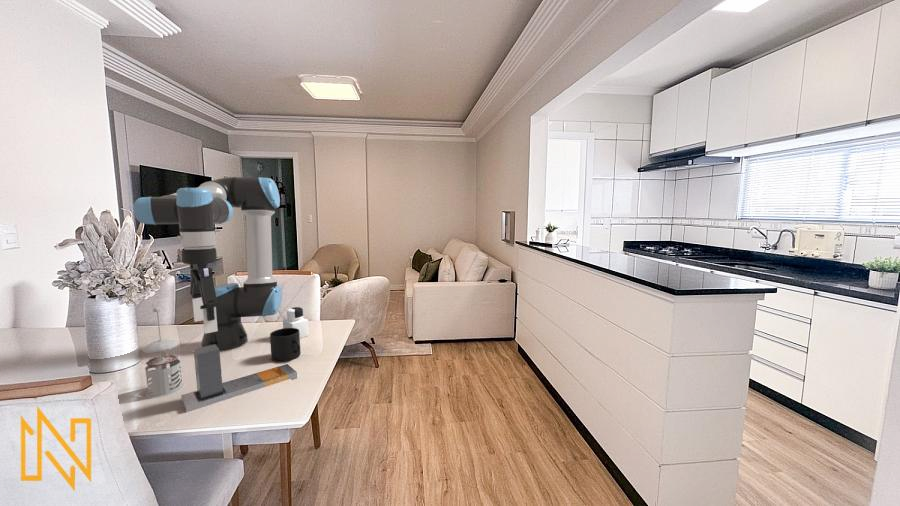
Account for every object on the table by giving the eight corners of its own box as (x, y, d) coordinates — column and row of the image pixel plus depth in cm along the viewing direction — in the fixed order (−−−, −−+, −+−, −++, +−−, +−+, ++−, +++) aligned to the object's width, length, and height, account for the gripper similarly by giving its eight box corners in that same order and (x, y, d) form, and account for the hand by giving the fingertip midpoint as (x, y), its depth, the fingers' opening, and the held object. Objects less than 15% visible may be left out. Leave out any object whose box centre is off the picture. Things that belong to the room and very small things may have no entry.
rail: (181, 402, 96) (180, 395, 96) (287, 369, 116) (287, 363, 116) (186, 414, 91) (185, 406, 91) (297, 377, 110) (296, 371, 110)
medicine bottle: (299, 332, 151) (298, 305, 150) (309, 335, 147) (307, 307, 146) (283, 337, 145) (281, 308, 144) (293, 341, 141) (291, 311, 140)
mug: (288, 365, 119) (287, 339, 118) (265, 358, 124) (263, 334, 123) (311, 355, 127) (310, 331, 126) (288, 349, 133) (287, 326, 132)
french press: (137, 403, 96) (127, 314, 93) (153, 384, 106) (144, 303, 103) (181, 396, 100) (173, 309, 96) (192, 378, 110) (185, 299, 107)
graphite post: (198, 397, 98) (193, 349, 96) (219, 391, 101) (215, 344, 100) (201, 404, 94) (197, 354, 93) (223, 397, 98) (219, 349, 96)
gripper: (173, 245, 99) (180, 319, 102) (190, 252, 81) (197, 341, 84) (205, 243, 104) (211, 313, 107) (227, 250, 87) (233, 333, 89)
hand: (205, 326), depth 95 cm, fingers open, 13 cm apart
